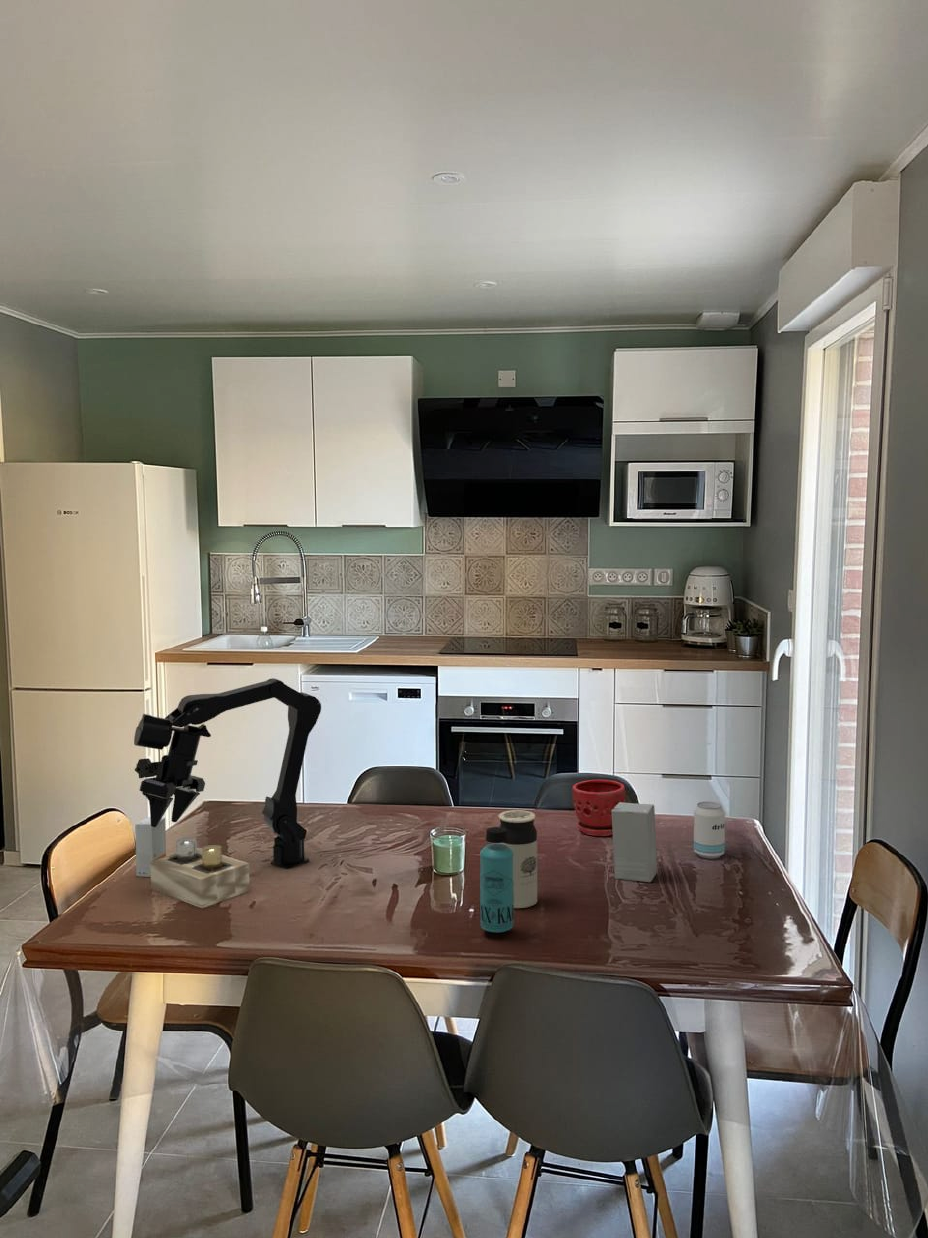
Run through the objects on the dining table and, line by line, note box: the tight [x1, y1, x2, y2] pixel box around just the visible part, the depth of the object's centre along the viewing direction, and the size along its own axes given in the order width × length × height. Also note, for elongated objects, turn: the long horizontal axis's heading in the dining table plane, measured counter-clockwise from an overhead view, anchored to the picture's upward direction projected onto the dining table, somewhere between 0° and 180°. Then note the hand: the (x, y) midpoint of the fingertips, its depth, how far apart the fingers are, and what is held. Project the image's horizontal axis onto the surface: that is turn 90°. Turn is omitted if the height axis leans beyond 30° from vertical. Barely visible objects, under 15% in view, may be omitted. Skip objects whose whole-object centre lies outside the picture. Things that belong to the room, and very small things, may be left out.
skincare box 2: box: [611, 802, 658, 883], centre depth 201 cm, size 8×7×16 cm
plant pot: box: [572, 779, 626, 837], centre depth 234 cm, size 13×13×12 cm
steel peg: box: [176, 836, 197, 863], centre depth 199 cm, size 4×4×5 cm
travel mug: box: [497, 809, 538, 909], centre depth 187 cm, size 8×8×18 cm
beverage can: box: [693, 801, 726, 860], centre depth 214 cm, size 7×7×12 cm
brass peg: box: [202, 844, 223, 872], centre depth 193 cm, size 4×4×5 cm
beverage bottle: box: [478, 826, 515, 933], centre depth 172 cm, size 6×7×20 cm
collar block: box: [150, 846, 251, 909], centre depth 197 cm, size 12×18×6 cm, turn 51°
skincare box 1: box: [134, 816, 167, 878], centre depth 208 cm, size 6×4×12 cm
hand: (163, 824), depth 199 cm, fingers open, 9 cm apart
